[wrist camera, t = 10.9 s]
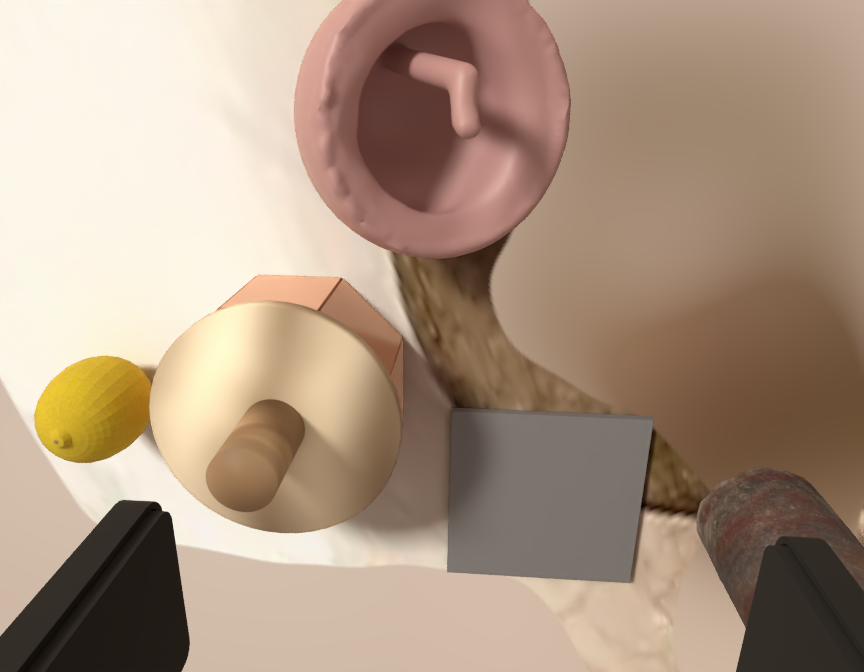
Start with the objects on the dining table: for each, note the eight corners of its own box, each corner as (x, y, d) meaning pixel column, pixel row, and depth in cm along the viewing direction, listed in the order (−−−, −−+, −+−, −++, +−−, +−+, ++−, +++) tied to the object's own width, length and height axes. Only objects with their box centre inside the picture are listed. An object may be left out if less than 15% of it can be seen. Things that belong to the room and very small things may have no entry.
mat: (651, 416, 40) (653, 420, 40) (628, 577, 44) (629, 582, 44) (452, 407, 41) (451, 411, 40) (447, 567, 45) (447, 572, 45)
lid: (402, 304, 33) (385, 351, 27) (402, 528, 37) (388, 607, 32) (142, 295, 33) (73, 338, 28) (174, 515, 38) (120, 590, 32)
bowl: (402, 279, 38) (389, 313, 33) (403, 461, 43) (391, 519, 37) (198, 272, 39) (150, 304, 33) (218, 452, 43) (179, 507, 38)
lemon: (141, 322, 40) (64, 376, 33) (192, 398, 42) (130, 465, 35) (71, 359, 42) (-19, 419, 34) (123, 430, 43) (48, 503, 36)
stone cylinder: (704, 449, 41) (892, 758, 22) (828, 457, 40) (1125, 779, 22) (682, 552, 44) (833, 904, 25) (798, 561, 43) (1039, 925, 24)
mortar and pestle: (552, 227, 37) (580, 286, 26) (336, 229, 38) (278, 287, 27) (562, -18, 33) (601, -68, 22) (319, -10, 33) (242, -54, 23)
